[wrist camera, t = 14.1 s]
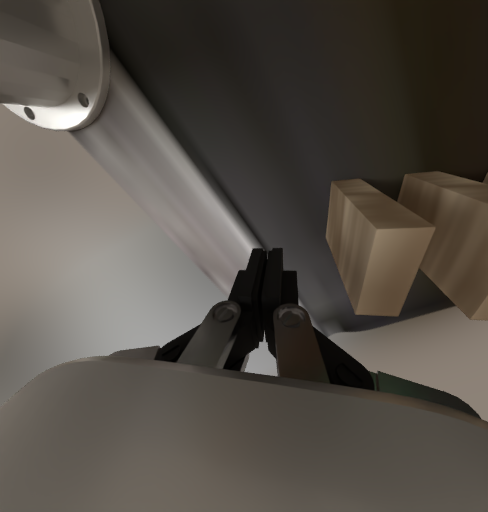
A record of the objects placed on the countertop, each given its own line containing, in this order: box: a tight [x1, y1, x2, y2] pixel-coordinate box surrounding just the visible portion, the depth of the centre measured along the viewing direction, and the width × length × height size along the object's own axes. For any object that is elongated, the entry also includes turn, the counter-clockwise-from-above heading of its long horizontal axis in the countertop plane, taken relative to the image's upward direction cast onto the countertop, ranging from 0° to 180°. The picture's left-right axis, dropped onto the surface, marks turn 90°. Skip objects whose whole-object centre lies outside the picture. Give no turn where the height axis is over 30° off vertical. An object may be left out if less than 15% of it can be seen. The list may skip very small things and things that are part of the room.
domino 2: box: [397, 171, 488, 320], centre depth 11 cm, size 2×5×9 cm, turn 7°
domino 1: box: [326, 178, 436, 316], centre depth 13 cm, size 2×5×9 cm, turn 8°
